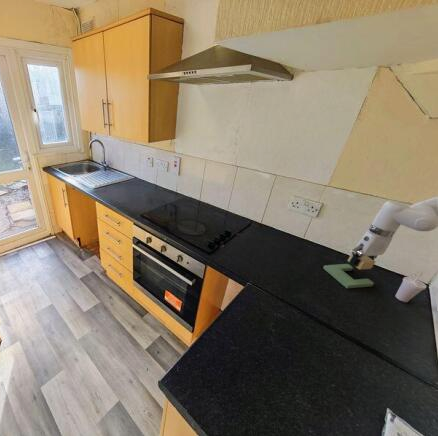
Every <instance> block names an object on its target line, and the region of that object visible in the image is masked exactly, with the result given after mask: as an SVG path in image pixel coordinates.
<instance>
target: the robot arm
mask: <svg viewBox="0 0 438 436" xmlns="http://www.w3.org/2000/svg"><path fill="white" fill-rule="evenodd" d="M381 206H382V207H381V208H380V209H379V211H378V212H377V214H376V215H375V217H374V219H373V220H372V222H371V224H370V225H369V227H368V228H367V231H366V232H365V233H364V234H363V236H361V238H360V239H359V241H358V242H357V244H356V246H355V248H353V249H351V251H350V252H351V254H353V257H352V258H351V260H350V262H349V263H350V265H351V266H352V265H353V266H354V267H355V266H357V265H358V264H359V262H360V261H361V258H362V257H363V256H368V257H369V258H371V259H372V260H374V261H375V259H376V258H378V256H382V255H384V254H385V252H386V251H387V249H388V248H389V246H390V244H391V242H392V240H393V237H394V235H395V233H396V232H397V230H398V229H399V228H400V226H404V227H407V228H409V229H411V230H415V231H418V232H430V231H434V230H435V229H437V228H438V196H435V197H432V198H429V199H426V200H422V201H418V202H416V203H414V204H412V205H408V204H406V203H404V202H400V201H396V200H388V201H385V202H384V203H383V204H382V205H381ZM358 253H361V255H360V256H359V254H358Z"/></svg>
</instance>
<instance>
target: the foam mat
mask: <svg viewBox="0 0 438 436" xmlns="http://www.w3.org/2000/svg"><path fill="white" fill-rule="evenodd" d="M322 269H324V271H326V272H327V273H328V274H329V275H330V276H332V278H334V279H335V280H336V281H337V282H339V283H340V284H341V285H342V286H343V287H344V288H346V289H355V288H365V287H366V288H367V287H373V286H374V284H375V282H373V281H372V280H370V279H369V278H360V279H359V278H358V279H354V278H353V277H351V276H350V275H349V274H347V273H346V272H349V271H353V269H354V267H353V266H352V265H351V264H349V263H340V264H326V265H323V268H322Z"/></svg>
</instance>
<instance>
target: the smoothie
mask: <svg viewBox="0 0 438 436" xmlns="http://www.w3.org/2000/svg"><path fill="white" fill-rule="evenodd" d="M422 275H423V272H420V273H419V274H418V275H417V276H416V277H412V276H404V277H403V278H402V282H401V284H400V286H399V288H398V289H397V291H396V294H395V295H394V297H395V298H396V299H397V300H399V301H401V302H403V303H408V302H409V301H410V300H411V299H413V298H414V297H415V296H417V295H419V293H420V292H422V291H424V290H426V289H427V285H426V283H424V282H423V281H422V280H419V278H420V277H421V276H422Z"/></svg>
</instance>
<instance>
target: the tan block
mask: <svg viewBox="0 0 438 436" xmlns="http://www.w3.org/2000/svg"><path fill="white" fill-rule="evenodd" d="M358 254H359V256H360V255H361V253H358ZM352 257H353V254H352V253H351V254H350V255H349V257H348V259H347V262H348V263H350V260H351V258H352ZM375 264H376V261H375V259H374V260H372V259H371V258H369V257H368V256H363V257H362V258H361V261H360V262H359V264H358V265H357V266H354V267H355V268H356V269H358V270H370V269H371V270H372V268H373V267H374V265H375Z"/></svg>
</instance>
